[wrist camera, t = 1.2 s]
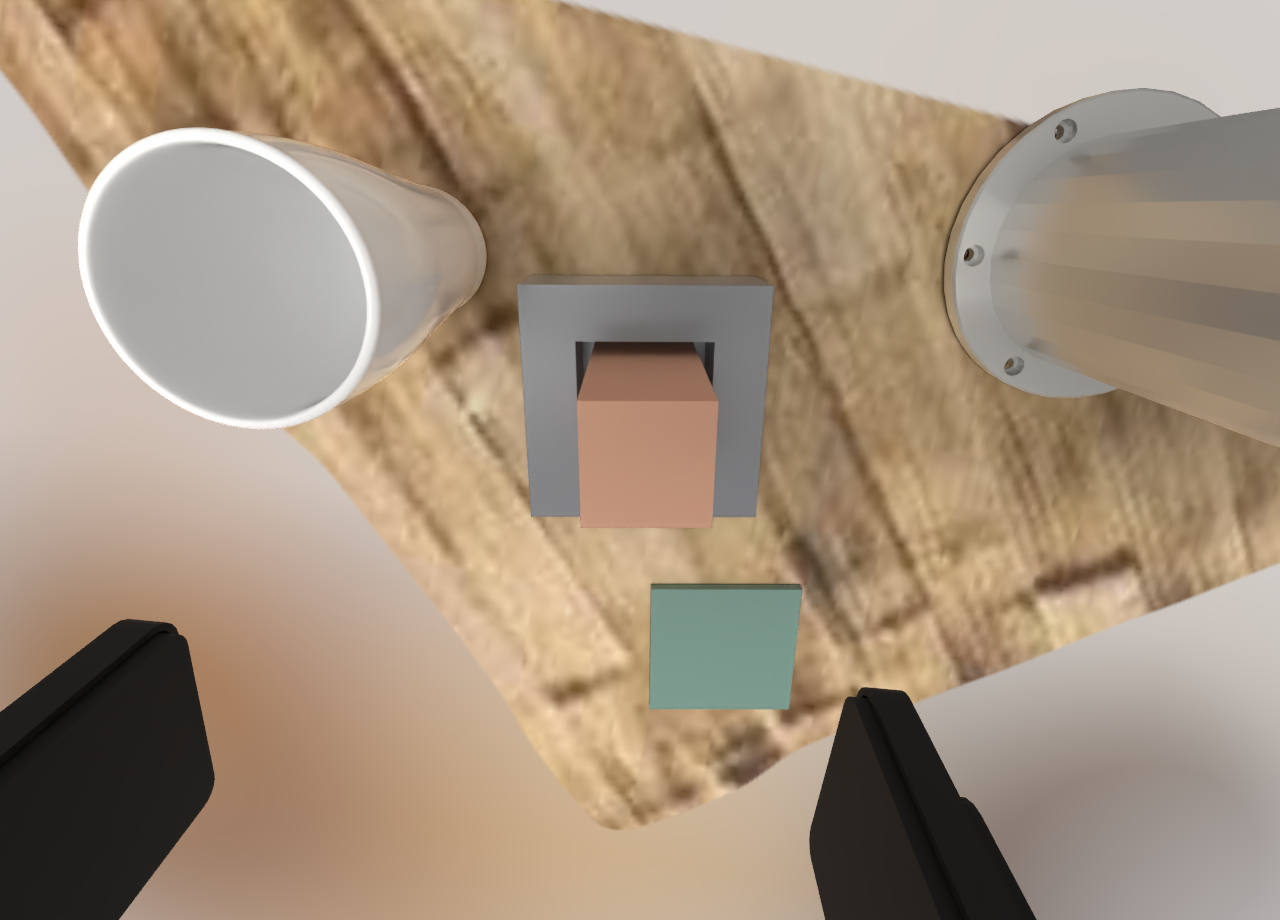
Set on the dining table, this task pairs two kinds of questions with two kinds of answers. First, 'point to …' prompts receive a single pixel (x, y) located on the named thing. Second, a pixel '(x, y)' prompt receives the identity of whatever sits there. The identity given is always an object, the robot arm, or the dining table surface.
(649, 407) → the peg
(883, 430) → the dining table surface
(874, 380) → the dining table surface
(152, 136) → the drinking glass
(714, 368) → the pocket block
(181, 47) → the dining table surface
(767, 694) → the mat
